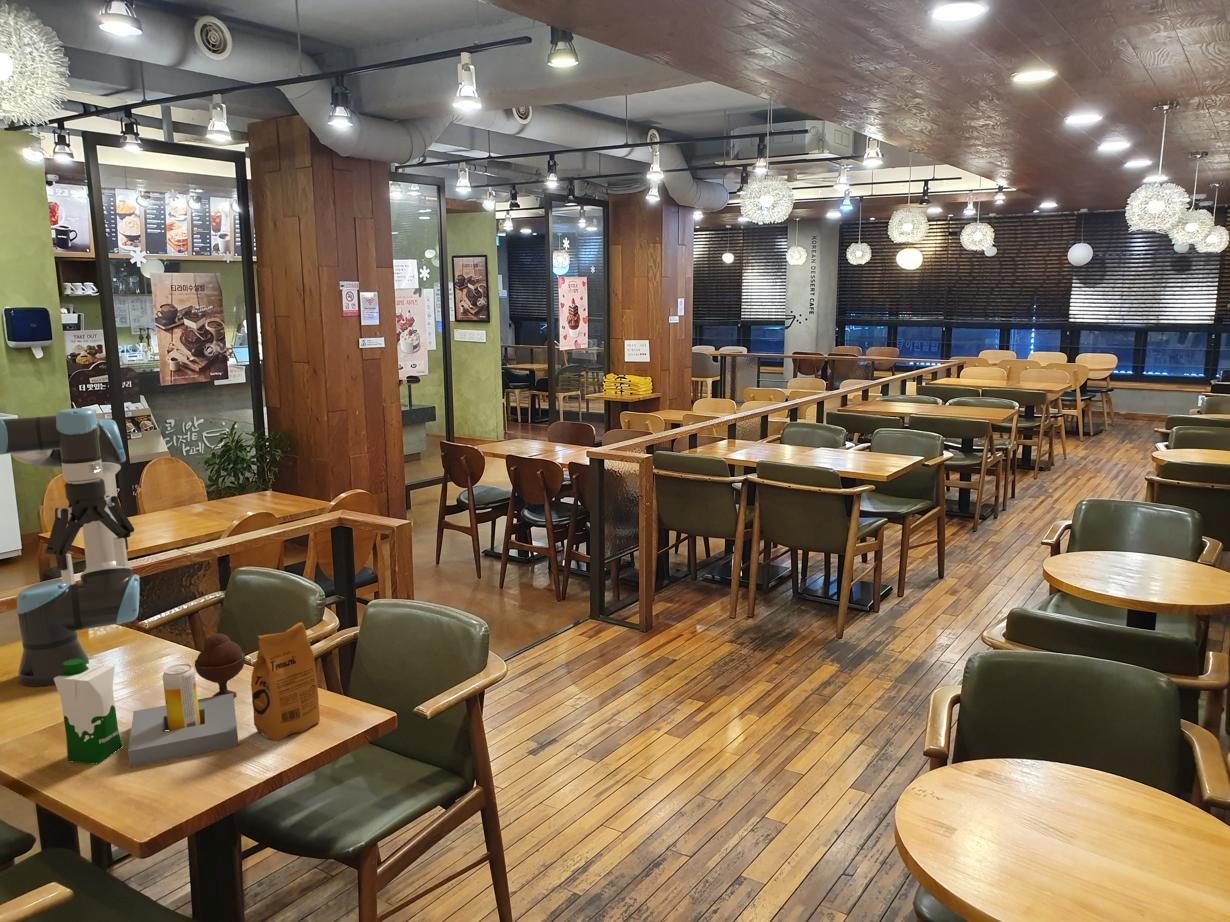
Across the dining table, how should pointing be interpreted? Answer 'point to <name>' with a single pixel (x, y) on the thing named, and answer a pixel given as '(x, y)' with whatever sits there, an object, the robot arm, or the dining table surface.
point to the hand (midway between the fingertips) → (96, 574)
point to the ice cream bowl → (220, 662)
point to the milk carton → (88, 710)
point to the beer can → (181, 696)
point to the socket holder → (182, 732)
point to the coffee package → (284, 684)
